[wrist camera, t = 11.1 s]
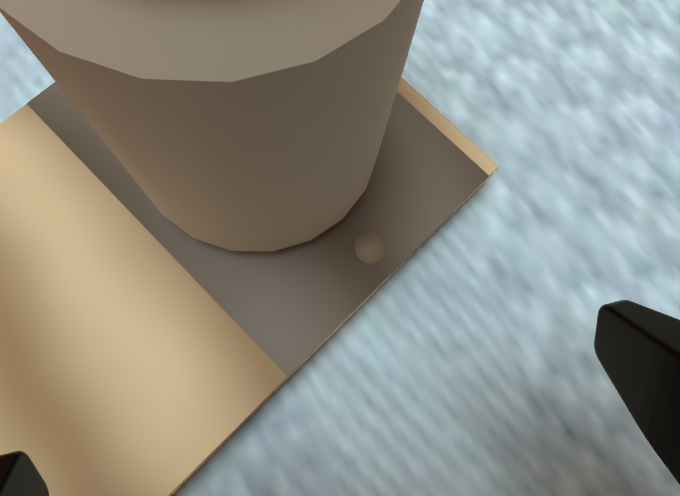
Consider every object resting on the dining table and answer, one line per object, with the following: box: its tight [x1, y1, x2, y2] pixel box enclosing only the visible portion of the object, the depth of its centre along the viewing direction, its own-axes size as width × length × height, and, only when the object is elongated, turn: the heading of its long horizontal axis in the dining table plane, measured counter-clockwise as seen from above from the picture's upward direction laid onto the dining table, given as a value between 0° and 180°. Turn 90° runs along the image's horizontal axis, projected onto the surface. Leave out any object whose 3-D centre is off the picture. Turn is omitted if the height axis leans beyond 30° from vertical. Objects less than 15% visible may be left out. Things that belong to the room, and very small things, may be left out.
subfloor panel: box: [0, 77, 499, 496], centre depth 18 cm, size 18×12×2 cm, turn 135°
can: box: [0, 0, 424, 252], centre depth 13 cm, size 8×8×12 cm
